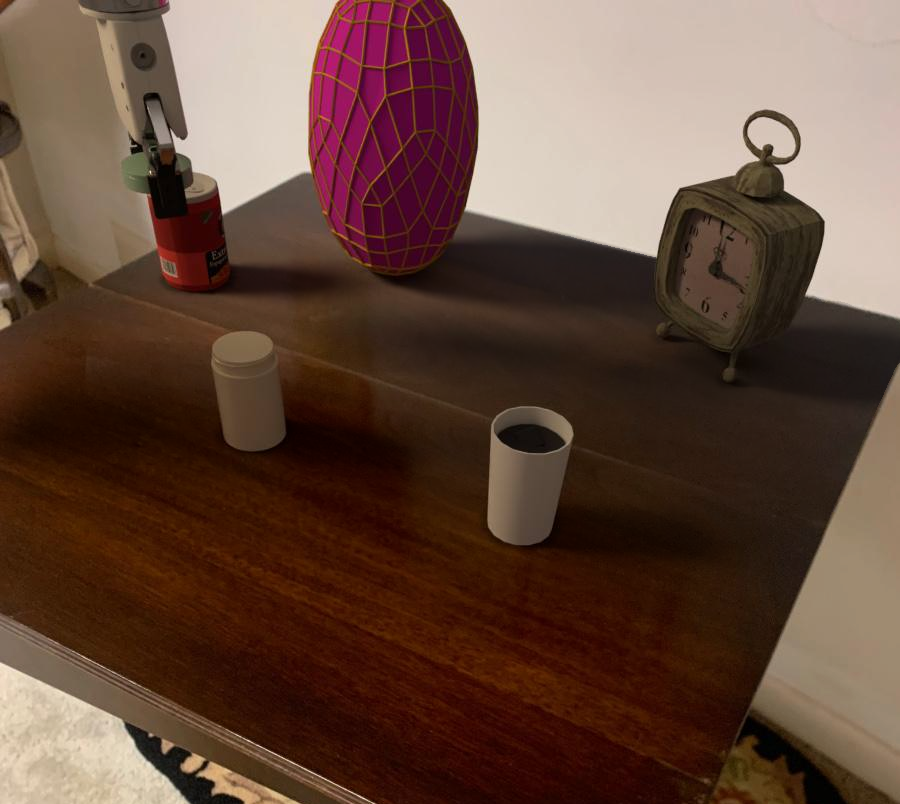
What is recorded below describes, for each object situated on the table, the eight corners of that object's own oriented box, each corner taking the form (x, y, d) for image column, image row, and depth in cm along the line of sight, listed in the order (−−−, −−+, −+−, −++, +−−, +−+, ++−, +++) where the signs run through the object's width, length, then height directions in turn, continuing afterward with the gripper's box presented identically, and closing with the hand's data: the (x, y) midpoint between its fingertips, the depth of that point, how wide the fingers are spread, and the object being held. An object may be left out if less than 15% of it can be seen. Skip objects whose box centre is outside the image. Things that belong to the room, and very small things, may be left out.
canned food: (225, 294, 104) (211, 199, 96) (157, 291, 104) (137, 196, 96) (236, 264, 110) (223, 172, 102) (170, 261, 109) (153, 169, 101)
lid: (202, 171, 89) (200, 153, 88) (183, 197, 85) (180, 179, 83) (136, 165, 89) (133, 147, 88) (114, 191, 85) (110, 172, 84)
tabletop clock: (639, 333, 102) (691, 95, 84) (696, 315, 106) (758, 83, 88) (728, 395, 94) (807, 146, 76) (787, 373, 98) (875, 130, 80)
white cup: (473, 503, 80) (481, 410, 73) (544, 495, 81) (558, 402, 74) (493, 553, 75) (503, 459, 68) (567, 543, 77) (585, 450, 70)
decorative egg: (316, 233, 117) (297, -43, 95) (461, 232, 119) (476, -38, 97) (315, 304, 104) (294, 3, 82) (479, 302, 106) (500, 8, 84)
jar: (216, 448, 84) (200, 361, 77) (232, 412, 88) (218, 326, 81) (279, 454, 84) (268, 366, 77) (291, 417, 88) (283, 331, 81)
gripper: (191, 12, 71) (223, 231, 84) (144, -37, 82) (179, 165, 95) (95, 19, 69) (144, 243, 82) (59, -32, 80) (107, 174, 93)
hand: (162, 199), depth 88 cm, fingers closed on lid, 6 cm apart
